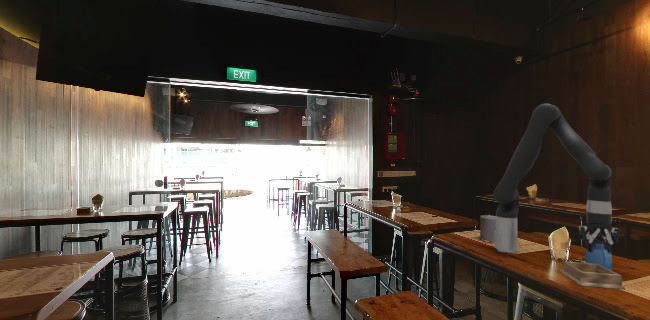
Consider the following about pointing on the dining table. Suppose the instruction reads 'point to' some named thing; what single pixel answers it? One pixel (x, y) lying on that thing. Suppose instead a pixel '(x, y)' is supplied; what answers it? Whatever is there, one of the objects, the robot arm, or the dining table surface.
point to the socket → (592, 275)
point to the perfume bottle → (599, 255)
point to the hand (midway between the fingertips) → (598, 252)
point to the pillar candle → (487, 227)
